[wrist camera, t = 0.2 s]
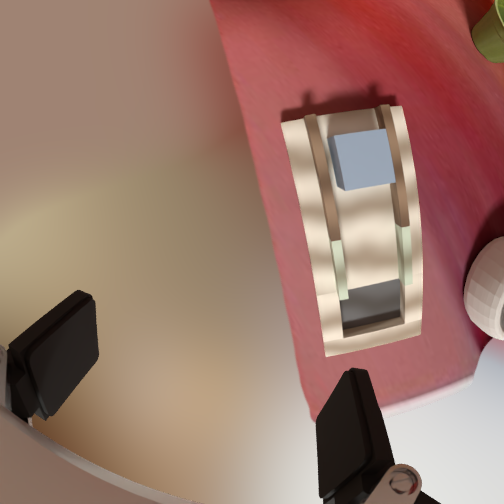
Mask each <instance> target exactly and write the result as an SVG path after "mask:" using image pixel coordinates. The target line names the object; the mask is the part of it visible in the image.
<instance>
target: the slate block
mask: <svg viewBox="0 0 504 504" xmlns="http://www.w3.org/2000/svg"><path fill="white" fill-rule="evenodd" d="M327 142H328V146H329V151H330V155H331V160H332V164H333V169H334V174H335V179H336V184H337V187H339V188H341V189H342V190H344V191H349V190H355V189H360V188H366V187H372V186H377V185H383V184H389V183H396V180H395V174H394V168H393V162H392V157H391V151H390V146H389V141H388V137H387V132H386V129H378V130H370V131H363V132H355V133H349V134H342V135H336V136H332V137H330V138H328V139H327Z"/></svg>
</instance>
